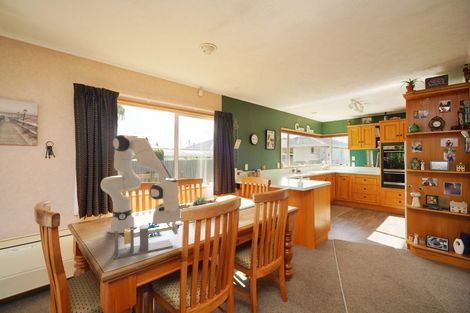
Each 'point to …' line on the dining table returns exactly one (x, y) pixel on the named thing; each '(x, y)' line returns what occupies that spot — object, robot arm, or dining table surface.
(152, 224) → the gear
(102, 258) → the dining table surface
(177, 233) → the shaft
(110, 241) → the dining table surface
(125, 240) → the spacer
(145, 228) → the bearing base
